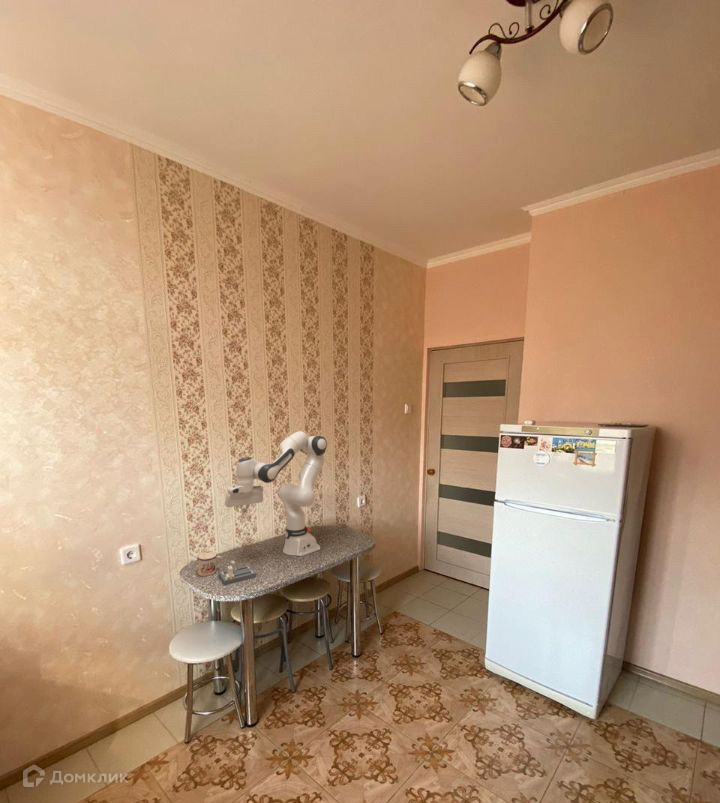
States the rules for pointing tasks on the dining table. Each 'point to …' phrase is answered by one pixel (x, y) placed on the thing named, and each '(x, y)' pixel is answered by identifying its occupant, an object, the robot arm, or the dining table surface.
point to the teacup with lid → (207, 563)
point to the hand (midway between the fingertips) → (244, 512)
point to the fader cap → (229, 572)
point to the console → (237, 574)
